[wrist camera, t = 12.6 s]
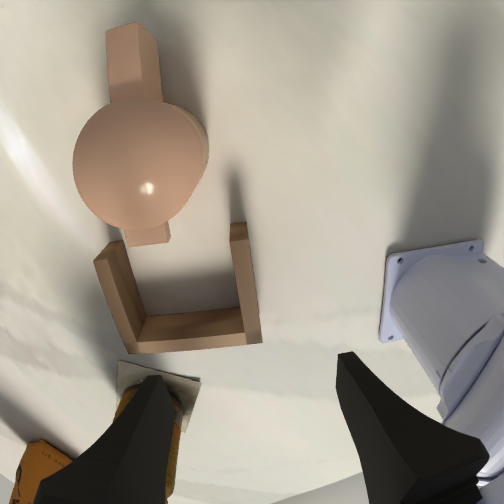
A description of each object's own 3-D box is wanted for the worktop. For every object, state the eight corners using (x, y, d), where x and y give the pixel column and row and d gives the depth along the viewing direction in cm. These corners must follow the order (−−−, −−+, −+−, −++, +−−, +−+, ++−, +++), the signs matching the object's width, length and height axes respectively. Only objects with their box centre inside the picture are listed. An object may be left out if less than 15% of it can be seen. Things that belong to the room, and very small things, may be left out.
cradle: (246, 221, 20) (248, 239, 17) (259, 316, 23) (262, 342, 20) (109, 242, 20) (92, 261, 17) (138, 328, 23) (128, 354, 20)
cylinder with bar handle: (216, 206, 19) (210, 238, 14) (125, 218, 19) (92, 252, 14) (197, 36, 15) (182, 6, 10) (102, 58, 15) (59, 42, 10)
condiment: (116, 413, 27) (90, 513, 16) (118, 358, 24) (76, 479, 13) (185, 430, 28) (176, 533, 17) (201, 380, 25) (192, 509, 14)
